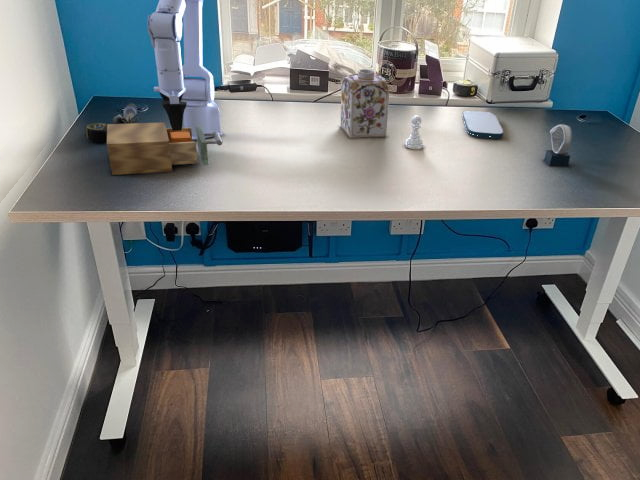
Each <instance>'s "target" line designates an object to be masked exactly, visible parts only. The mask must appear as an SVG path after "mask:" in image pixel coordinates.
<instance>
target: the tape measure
mask: <svg viewBox="0 0 640 480" xmlns="http://www.w3.org/2000/svg"><path fill="white" fill-rule="evenodd" d="M107 124H108V123H102V122H96V123H89V124H87V125H86V126H85V129H84V132H85V133H84V134H85V137H86V139H88V140H89V141H91V142H97V143H99V142H107Z"/></svg>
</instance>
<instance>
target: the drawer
mask: <svg viewBox="0 0 640 480" xmlns="http://www.w3.org/2000/svg"><path fill="white" fill-rule="evenodd" d="M166 130H167V135H168V140H169V146H170V155H171V163H172V166H173V165H174V166H176V165H190V164H192V165H194V164H198V153H197V149H198V152H199V155H200V158H201V162H202V165H203V166H208V165H209V155H208V145H217V146H221V145H223V141H222V138H221V135H219V133H218V132H217V131H215V132H213V133H204V134H203V131H202V128H201V126H200V125H196V134H197V140H196V141H193V140H192V132H191V127H186V128H184V127H182V130H181V131H173V130H172V128H171V127H166ZM170 132H189V133H190V137H191V142H179V143H171V137H170ZM213 135H214V136H213ZM204 136H213V138H214V140H206V138H205V137H204Z"/></svg>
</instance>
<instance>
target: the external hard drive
mask: <svg viewBox="0 0 640 480" xmlns="http://www.w3.org/2000/svg"><path fill="white" fill-rule="evenodd" d="M462 114H463V118H464V121H465V124H464V121H463V118H462V117H461V119H462V122H463V124H464V127H465V125H466V127H465V131H466V133H467V135H469V136H470V137H474V138H482V139H483V138H484V139H495V140H496V139H497V140H498V139H502V138H503V137H504V133H505V132H504V129H503V127H502V126H501V123H500V121H499V120H498V117H497V116H496V114H494V113H492V112H488V111H476V110H463V111H462V113H461V115H462ZM466 128H467V130H466ZM467 131H468V132H469V133H468V132H467ZM470 133H471V134H470ZM472 134H474V135H472ZM477 135H478V136H477ZM489 136H491V137H489Z"/></svg>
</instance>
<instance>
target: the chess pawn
mask: <svg viewBox="0 0 640 480" xmlns="http://www.w3.org/2000/svg"><path fill="white" fill-rule="evenodd" d="M421 124H422V118H421V117H420V116H419V115H414V116H413V117H411V125H410V127H411V128H412V131H411V133H410V134H409V137H408V138H407V139H405V145H404V146H405V147H406V148H408V149H410V150H420V149H422V148H423V142H424V141H423V140H422V139H421V138H420V137H421V135H420V134H419V129H420V128H422V126H421Z"/></svg>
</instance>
